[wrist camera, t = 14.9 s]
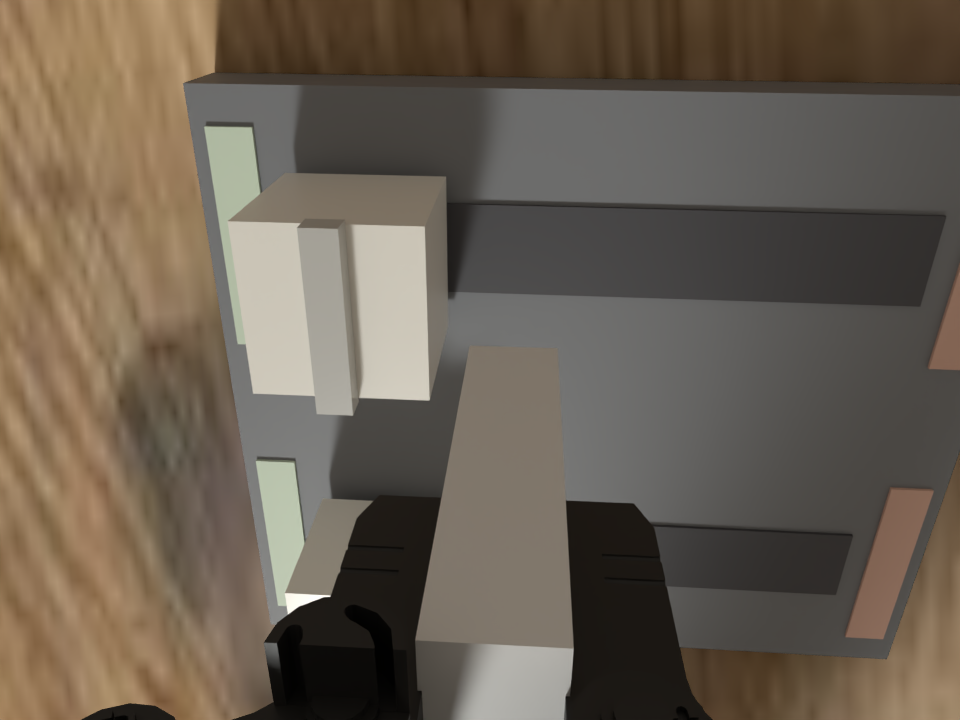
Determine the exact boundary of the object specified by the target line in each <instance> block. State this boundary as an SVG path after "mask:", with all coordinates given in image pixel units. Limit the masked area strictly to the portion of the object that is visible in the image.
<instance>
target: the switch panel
mask: <svg viewBox="0 0 960 720" xmlns="http://www.w3.org/2000/svg"><path fill="white" fill-rule="evenodd" d="M183 85H184V92H185V98H186V104H187V110H188V116H189V122H190V129H191V135H192V141H193V147H194V153H195V159H196V166H197V172H198V178H199V184H200V190H201V196H202V203H203V209H204V215H205V221H206V227H207V233H208V239H209V246H210V252H211V258H212V264H213V270H214V276H215V283H216V289H217V295H218V301H219V307H220V313H221V320H222V326H223V332H224V338H225V344H226V350H227V357H228V363H229V369H230V375H231V381H232V387H233V394H234V400H235V406H236V412H237V418H238V424H239V430H240V437H241V443H242V449H243V455H244V461H245V467H246V474H247V480H248V486H249V492H250V498H251V504H252V511H253V517H254V523H255V529H256V535H257V541H258V548H259V554H260V560H261V566H262V572H263V578H264V585H265V591H266V597H267V603H268V609H269V615H270V621H271V624H277V622H279V621H280V620H281V619H283V618H284V617H285V616H287V615H288V611H287V604H286V598H285V591H286V589H287V586H288V584H289V581H290V579H291V576H292V574H293V571H294V569H295V566H296V564H297V561H298V559H299V557H300V554H301V552H302V549H303V547H304V544H305V542H306V539H307V537H308V534H309V532H310V529H311V527H312V524H313V522H314V519H315V517H316V514H317V512H318V509H319V507H320V504H321V502H322V499H323V498H324V499H345V500H367V501H374V500H375V499H376V498H377V497H378V496H379V495H391V496H414V497H438V498H442V493H443V487H444V482H445V476H446V471H447V466H448V460H449V455H450V449H451V444H452V439H453V433H454V428H455V422H456V417H457V412H458V406H459V401H460V395H461V390H462V385H463V379H464V374H465V368H466V363H467V358H468V352H469V347H470V346H499V347H531V348H558V365H559V384H560V403H561V421H562V440H563V459H564V477H565V496H566V501H590V502H613V503H634V504H635V505H636V506H637V508H638V509H639V510H640V511H641V512H642V514H643V515H644V516H645V517H646V519H647V520H648V521H649V522H650V523H651V525H652V526H653V527H654V528H655V533H656V538H657V543H658V547H659V552H660V562H662V566H663V571H664V576H665V585H666V586H667V590H668V594H669V599H670V604H671V609H672V613H673V618H674V623H675V627H676V632H677V637H678V642H679V646H680V647H681V648H699V649H717V650H734V651H752V652H769V653H787V654H805V655H822V656H840V657H857V658H875V659H887V657H888V655H889V652H890V649H891V646H892V643H893V640H894V637H895V635H896V632H897V629H898V626H899V623H900V620H901V618H902V615H903V612H904V609H905V606H906V603H907V600H908V598H909V595H910V592H911V589H912V586H913V583H914V580H915V578H916V575H917V572H918V569H919V566H920V563H921V561H922V558H923V555H924V552H925V549H926V546H927V543H928V541H929V538H930V535H931V532H932V529H933V526H934V524H935V521H936V518H937V515H938V512H939V509H940V506H941V504H942V501H943V498H944V495H945V492H946V489H947V487H948V484H949V481H950V478H951V475H952V472H953V469H954V467H955V464H956V461H957V458H958V455H959V452H960V84H908V83H844V82H780V81H716V80H652V79H588V78H524V77H460V76H396V75H332V74H268V73H211V74H208V75H206V76H203V77H200V78H197V79H194V80H191V81H188V82H185V83H183ZM284 173H314V174H358V175H401V176H444V177H446V202H447V273H448V328H447V332H446V336H445V340H444V344H443V348H442V352H441V356H440V361H439V365H438V369H437V373H436V377H435V381H434V385H433V389H432V393H431V397H430V401H427V400H402V399H377V398H358V399H359V402H358V405H357V407H356V410H355V412H354V414H353V416H350V415H325V414H317V412H316V403H315V396H301V395H276V394H253V390H252V383H251V376H250V369H249V363H248V356H247V349H246V343H245V336H244V329H243V322H242V316H241V309H240V302H239V295H238V289H237V282H236V275H235V269H234V262H233V255H232V248H231V242H230V235H229V228H228V222H227V221H228V220H230V219H231V218H232V217H233V216H234V215H236V214H237V213H238V212H239V211H240V210H242V209H243V208H244V207H245V206H246V205H247V204H249V203H250V202H251V201H252V200H253V199H255V198H256V197H257V196H258V195H259V194H261V193H262V192H263V191H264V190H265V189H267V188H268V187H269V186H270V185H271V184H272V183H274V182H275V181H276V180H277V179H278V178H280V177H281V176H282V175H283V174H284Z"/></svg>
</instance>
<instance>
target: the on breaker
mask: <svg viewBox="0 0 960 720" xmlns="http://www.w3.org/2000/svg"><path fill="white" fill-rule="evenodd" d="M372 502H373V501H367V500H345V499H324V498H323V499H322V502H321V504H320V507H319V509H318V512H317V514H316V517H315V519H314V522H313V524H312V527H311V529H310V532H309V534H308V537H307V539H306V542H305V544H304V547H303V549H302V552H301V554H300V557H299V559H298V561H297V564H296V566H295V569H294V571H293V574H292V576H291V579H290V581H289V584H288V586H287V589H286V591H285V598H286V604H287V611H288V614H289V613H291V612H292V611H293V610H295V609H296V608H297V607H299V606H302V605H304V604H307V603H310V602H312V601H315V600H318V599H320V598H323V597H331V594H332V591H333V588H334V585H335V582H336V579H337V576H338V573H340V567H341V564H342V561H343V558H344V555H345V552H346V550H348V543H349V540H350V537H351V534H352V531H353V528H354V525H355V522H356V519H357V517H358V516H359V515H360V514H361V513H362V512H363V511H364V510H365V509H366V508H367V507H368V506H369V505H370V504H371V503H372Z"/></svg>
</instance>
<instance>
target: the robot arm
mask: <svg viewBox="0 0 960 720" xmlns="http://www.w3.org/2000/svg"><path fill="white" fill-rule="evenodd" d="M264 647H265V653H266V659H267V665H268V671H269V677H270V683H271V689H272V695H273V701H274V702H273V703H271V704H269V705H267V706H266V707H264V708H262V709H260V710H258V711H256V712H254V713H252V714H248V715H245V716H242V717H239V718H236V719H233V720H712V719H711V718H710V717H709V716H708V715H707V714H706V713H705V712H704V710H703V708H702V706H701V705H700V704H699V703H698V702H697V700H696V699H695V697H694V696H693V694H692V692H691V690H690V687H689V684H688V681H687V679H686V675H685V670H684V665H683V660H682V656H681V651H680V646H679V642H678V637H677V632H676V627H675V623H674V618H673V613H672V609H671V604H670V599H669V594H668V590H667V586H666V585H665V576H664V571H663V566H662V562H660V552H659V547H658V543H657V538H656V533H655V528H654V527H653V526H652V525H651V523H650V522H649V521H648V520H647V519H646V517H645V516H644V515H643V514H642V512H641V511H640V510H639V509H638V508H637V506H636V505H635V504H634V503H613V502H590V501H566V496H565V477H564V459H563V440H562V421H561V403H560V384H559V365H558V348H531V347H499V346H470V347H469V352H468V358H467V363H466V368H465V374H464V379H463V385H462V390H461V395H460V401H459V406H458V412H457V417H456V422H455V428H454V433H453V439H452V444H451V449H450V455H449V460H448V466H447V471H446V476H445V482H444V487H443V493H442V498H438V497H414V496H391V495H379V496H378V497H377V498H376V499H375V500H374V501H373V502H372V503H371V504H370V505H369V506H368V507H367V508H366V509H365V510H364V511H363V512H362V513H361V514H360V515H359V516H358V517H357V519H356V522H355V525H354V528H353V531H352V534H351V537H350V540H349V543H348V550H346V552H345V555H344V558H343V561H342V564H341V567H340V573H338V576H337V579H336V582H335V585H334V588H333V591H332V594H331V597H323V598H320V599H318V600H315V601H312V602H310V603H307V604H304V605H302V606H299V607H297V608H296V609H295V610H293V611H292V612H291V613H289V614H288V615H287V616H285V617H284V618H283V619H281V620H280V621H279V622H277V624H276V625H275V627H274V628H273V630H272V631H271V633H270V634H269V636H268V637H267V639H266V640H265V642H264ZM82 720H175V718H174V717H173V716H172V715H170V714H168V713H167V712H165V711H163V710H161V709H160V708H158V707H156V706H152V705H141V704H131V703H129V704H125V705H120V706H116V707H111V708H106V709H102V710H99V711H97V712H96V713H94V714H92V715H90V716H88V717H86V718H84V719H82Z"/></svg>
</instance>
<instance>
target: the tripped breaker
mask: <svg viewBox="0 0 960 720" xmlns="http://www.w3.org/2000/svg"><path fill="white" fill-rule="evenodd" d="M227 222H228V228H229V235H230V242H231V248H232V255H233V262H234V269H235V275H236V282H237V289H238V295H239V302H240V309H241V316H242V322H243V329H244V336H245V343H246V349H247V356H248V363H249V369H250V376H251V383H252V390H253V394H276V395H301V396H315V403H316V412H317V414H325V415H350V416H353V414H354V412H355V410H356V407H357V405H358V402H359V399H358V398H377V399H402V400H427V401H430V397H431V393H432V389H433V385H434V381H435V377H436V373H437V369H438V365H439V361H440V356H441V352H442V348H443V344H444V340H445V336H446V332H447V328H448V273H447V202H446V177H444V176H401V175H358V174H314V173H284V174H283V175H282V176H281V177H280V178H278V179H277V180H276V181H275V182H274V183H272V184H271V185H270V186H269V187H268V188H267V189H265V190H264V191H263V192H262V193H261V194H259V195H258V196H257V197H256V198H255V199H253V200H252V201H251V202H250V203H249V204H247V205H246V206H245V207H244V208H243V209H242V210H240V211H239V212H238V213H237V214H236V215H234V216H233V217H232V218H231V219H230V220H228V221H227Z"/></svg>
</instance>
